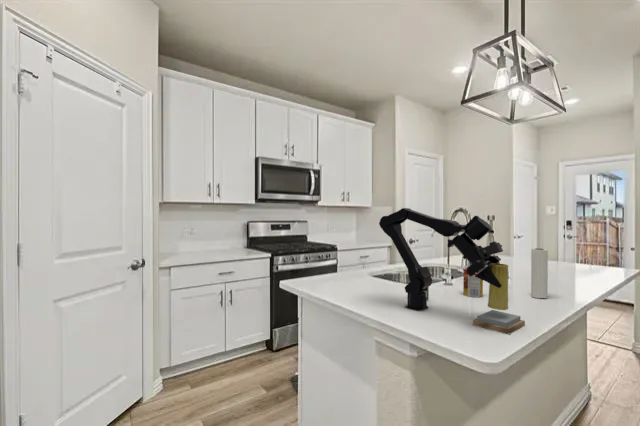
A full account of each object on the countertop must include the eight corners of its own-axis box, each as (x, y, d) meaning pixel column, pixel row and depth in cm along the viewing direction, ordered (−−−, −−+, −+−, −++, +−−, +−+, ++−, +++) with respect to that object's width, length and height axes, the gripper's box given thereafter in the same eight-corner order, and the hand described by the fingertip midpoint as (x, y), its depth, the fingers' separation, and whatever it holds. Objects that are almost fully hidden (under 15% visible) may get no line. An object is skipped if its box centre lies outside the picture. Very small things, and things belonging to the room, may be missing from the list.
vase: (490, 309, 109) (491, 264, 109) (485, 304, 115) (486, 262, 115) (511, 311, 108) (512, 266, 108) (504, 306, 114) (506, 263, 114)
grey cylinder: (544, 300, 144) (544, 249, 144) (528, 297, 149) (529, 248, 149) (550, 297, 149) (550, 248, 149) (535, 294, 154) (535, 247, 154)
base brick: (472, 324, 112) (472, 320, 112) (490, 317, 120) (490, 313, 120) (508, 334, 103) (508, 329, 103) (524, 325, 111) (524, 320, 111)
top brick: (477, 320, 112) (477, 315, 112) (492, 314, 118) (492, 309, 118) (506, 327, 105) (506, 322, 105) (520, 320, 112) (520, 316, 112)
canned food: (479, 293, 155) (479, 267, 155) (485, 297, 147) (485, 270, 147) (461, 293, 156) (461, 267, 156) (466, 297, 148) (466, 269, 148)
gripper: (477, 234, 107) (515, 274, 100) (495, 232, 121) (530, 267, 113) (452, 257, 113) (486, 296, 105) (471, 252, 126) (503, 286, 119)
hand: (503, 285), depth 111 cm, fingers closed on vase, 5 cm apart
